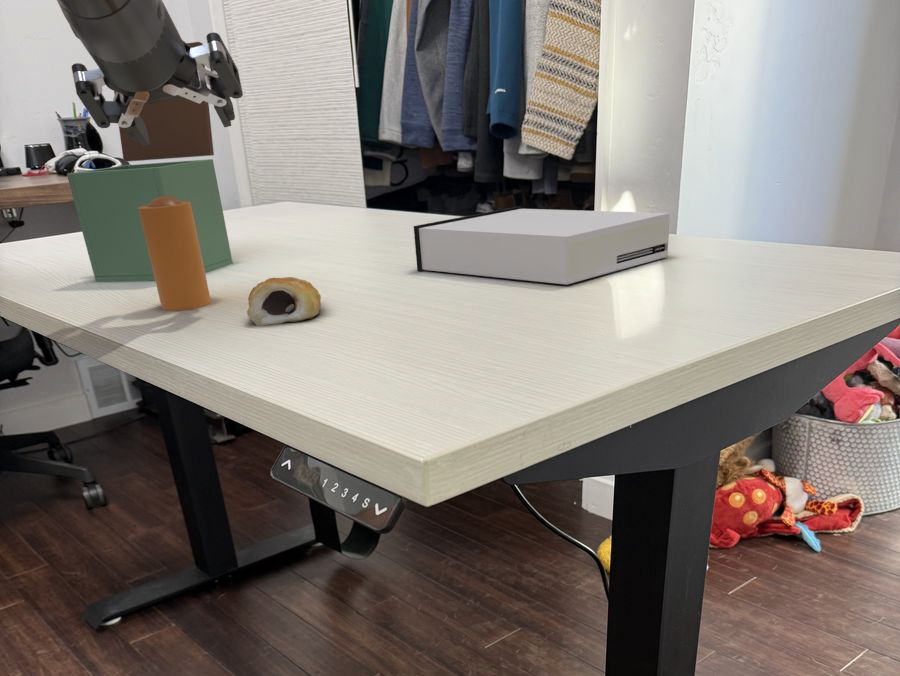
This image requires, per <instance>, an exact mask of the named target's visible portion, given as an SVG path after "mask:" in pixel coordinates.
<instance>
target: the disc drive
mask: <svg viewBox="0 0 900 676" xmlns="http://www.w3.org/2000/svg"><path fill="white" fill-rule="evenodd" d="M670 219H671V213H670V212H645V211H644V212H643V211H612V210H609V211H608V210H582V209H581V210H577V209H544V208H542V209H541V208H523V206H522V205H518V206H513V207H508V208H503V209H497V210H491V211H487V212H480V213H476V214H470V215H465V216H460V217H454V218H449V219H443V220H438V221H433V222H428V223H423V224H418V225H417V224H416V225H413V236H414V237H413V238H414V248H415V259H416V260H415V261H416V271H417V272H418V273H422V272H426V271H431V272H432V271H433V272H442V273H450V274H460V275H471V276H479V277H481V276H482V277H489V278H500V279H507V280H518V281H527V282H528V281H529V282H536V283H537V282H538V283H546V284H547V283H548V284H556V285H558V284H559V285H571V284H574V283H575V284H576V283H578V282H582V281H585V280H588V279H593V278H596V277H600V276H603V275H608V274H611V273H614V272H618V271H621V270H625V269H628V268H633V267H636V266H640V265H644V264H646V263H647V264H648V263H650V262H654V261H657V260H661V259H664V258H668V256H669V240H670Z"/></svg>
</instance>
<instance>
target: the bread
mask: <svg viewBox="0 0 900 676" xmlns="http://www.w3.org/2000/svg"><path fill="white" fill-rule="evenodd" d="M138 209H139V213H140V218H141V222H142V226H143V230H144V235H145V239H146V243H147V247H148V252H149V256H150V260H151V264H152V268H153V273H154V277H155V281H154V282H155V286H156V289H157V293H158V298H159V302H160V306H161V309H162V310H164V311H171V312H172V311H186V310H193V309H199V308H203V307H206V306H208V305H210V304H212V299H211V295H210V289H209V285H208V280H207V276H206V273H205V270H204V265H203V260H202V256H201V251H200V246H199V241H198V236H197V231H196V227H195V222H194V217H193V212H192V207H191V203H190V202H181V201H179V200H178V199H176V198H173V197H169V196H162V197H158V198H155V199H153V200H152V201H151V202H150V203H149V204H148V205H147V206H142V207H139V208H138Z"/></svg>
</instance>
